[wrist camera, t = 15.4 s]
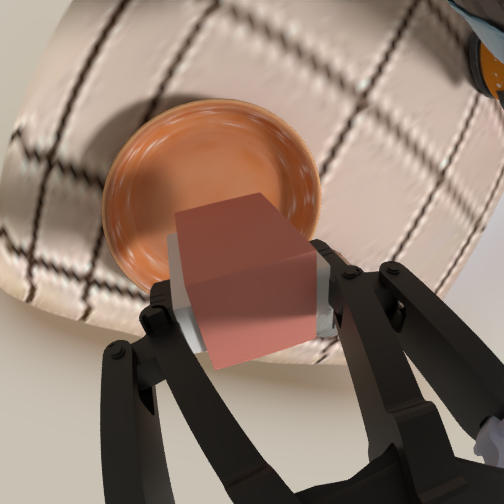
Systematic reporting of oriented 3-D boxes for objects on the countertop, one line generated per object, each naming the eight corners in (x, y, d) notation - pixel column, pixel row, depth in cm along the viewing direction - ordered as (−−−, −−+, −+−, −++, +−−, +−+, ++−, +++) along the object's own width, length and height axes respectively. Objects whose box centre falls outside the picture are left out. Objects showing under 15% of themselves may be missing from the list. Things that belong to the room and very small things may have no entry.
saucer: (168, 61, 16) (169, 55, 14) (338, 163, 24) (358, 173, 21) (82, 252, 21) (74, 272, 19) (244, 306, 29) (253, 327, 26)
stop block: (174, 213, 16) (184, 286, 10) (260, 192, 17) (316, 250, 11) (194, 284, 19) (214, 370, 13) (269, 264, 19) (316, 338, 14)
